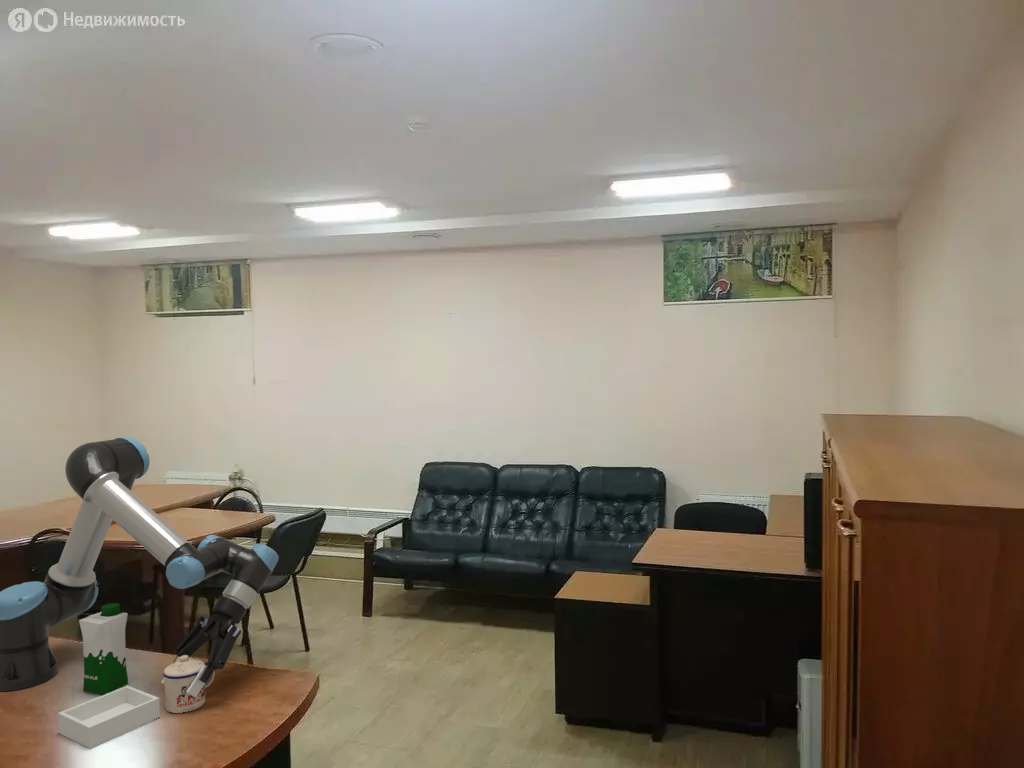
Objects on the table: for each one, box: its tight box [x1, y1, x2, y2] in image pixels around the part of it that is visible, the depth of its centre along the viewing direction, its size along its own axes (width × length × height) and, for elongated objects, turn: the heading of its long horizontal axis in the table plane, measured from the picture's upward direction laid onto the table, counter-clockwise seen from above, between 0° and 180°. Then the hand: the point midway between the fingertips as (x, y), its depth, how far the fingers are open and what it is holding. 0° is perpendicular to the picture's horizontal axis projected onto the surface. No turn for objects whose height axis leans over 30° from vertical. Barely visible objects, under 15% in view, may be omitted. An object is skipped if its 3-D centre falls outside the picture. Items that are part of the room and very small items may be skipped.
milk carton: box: [78, 602, 129, 696], centre depth 183 cm, size 9×9×20 cm
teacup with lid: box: [162, 655, 216, 714], centre depth 175 cm, size 12×9×12 cm
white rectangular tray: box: [57, 685, 161, 750], centre depth 164 cm, size 13×16×4 cm
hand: (178, 689), depth 172 cm, fingers closed on teacup with lid, 9 cm apart
